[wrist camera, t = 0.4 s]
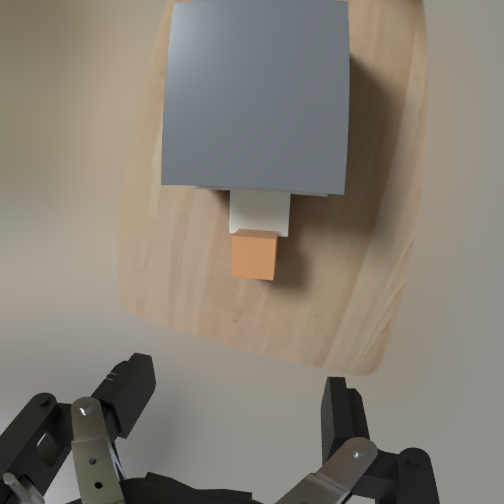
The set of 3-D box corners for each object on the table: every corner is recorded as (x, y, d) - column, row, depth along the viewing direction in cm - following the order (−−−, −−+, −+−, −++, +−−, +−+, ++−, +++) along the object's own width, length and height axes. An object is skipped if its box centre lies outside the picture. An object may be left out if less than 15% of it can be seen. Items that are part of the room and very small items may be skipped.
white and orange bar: (238, 77, 29) (228, 64, 24) (296, 79, 29) (296, 65, 24) (231, 259, 35) (221, 275, 30) (285, 264, 34) (283, 281, 30)
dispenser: (205, 40, 28) (174, 3, 19) (334, 42, 27) (347, 1, 17) (198, 185, 34) (161, 197, 24) (328, 193, 32) (342, 208, 22)
